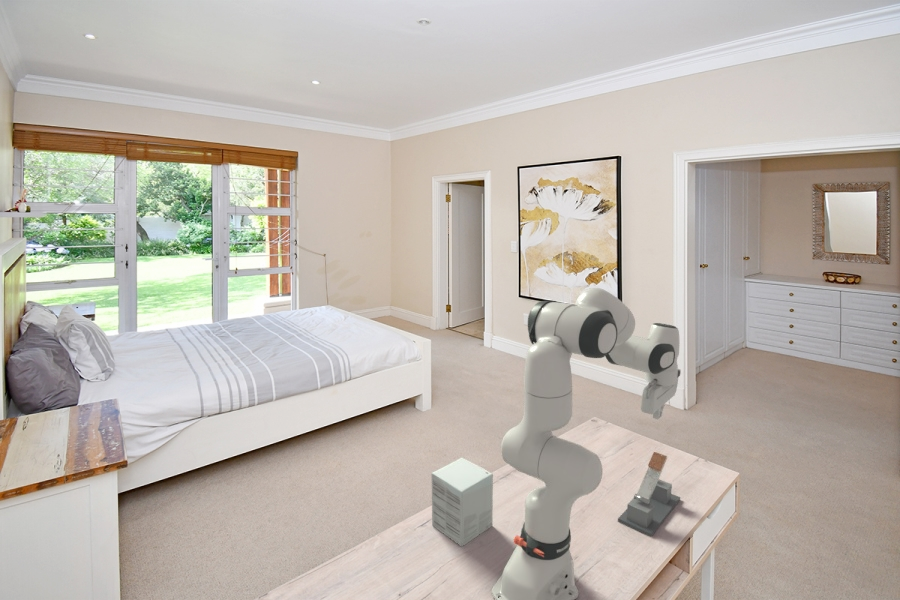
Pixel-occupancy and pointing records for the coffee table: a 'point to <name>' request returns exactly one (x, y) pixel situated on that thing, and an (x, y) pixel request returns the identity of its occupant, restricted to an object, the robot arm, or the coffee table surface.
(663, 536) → the coffee table surface
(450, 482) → the supplement box
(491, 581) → the coffee table surface
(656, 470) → the bar
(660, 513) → the base
